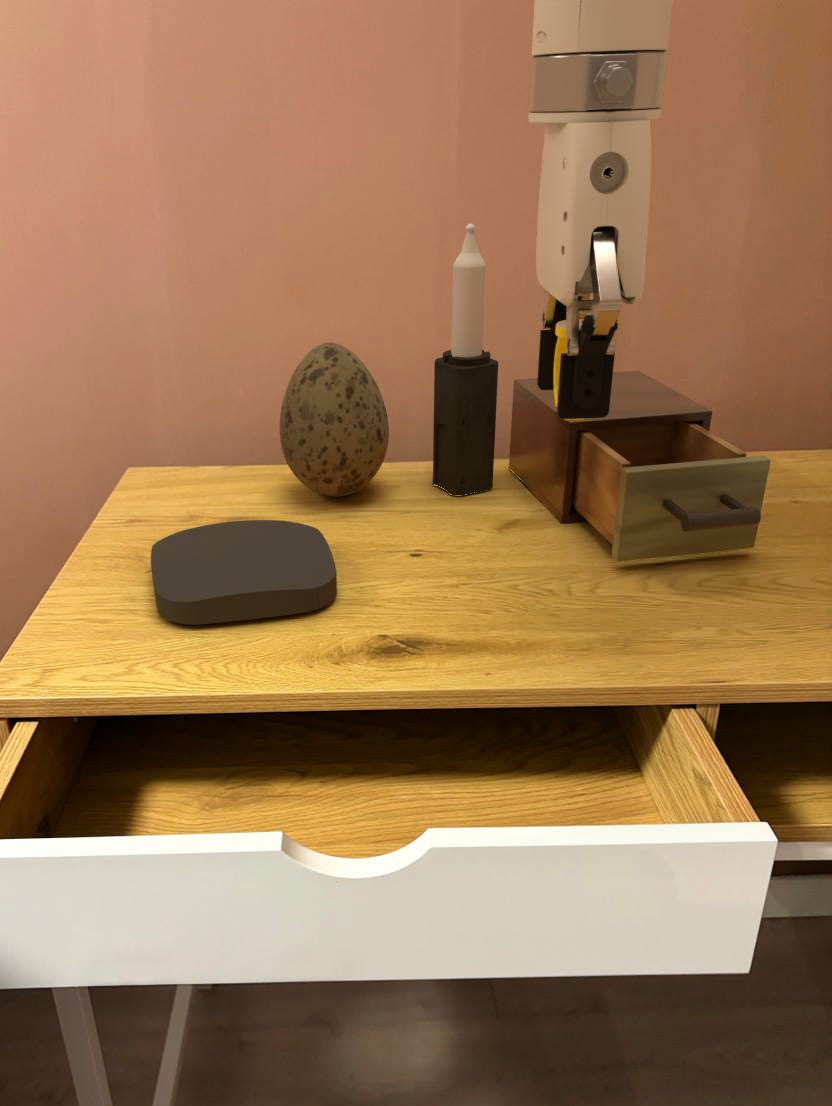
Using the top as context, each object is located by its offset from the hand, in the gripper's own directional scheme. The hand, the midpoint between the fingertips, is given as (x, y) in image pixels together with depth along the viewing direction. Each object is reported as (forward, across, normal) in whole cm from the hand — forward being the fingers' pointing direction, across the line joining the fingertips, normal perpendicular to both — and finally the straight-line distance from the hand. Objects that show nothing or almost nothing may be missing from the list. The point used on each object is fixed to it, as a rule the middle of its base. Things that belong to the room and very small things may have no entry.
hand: (571, 399), depth 65 cm
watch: (+1, 0, 0) cm, 1 cm away
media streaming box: (+17, +9, +24) cm, 31 cm away
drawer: (+17, +15, -12) cm, 26 cm away
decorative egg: (+17, +30, +16) cm, 38 cm away
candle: (+18, +31, +3) cm, 36 cm away
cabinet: (+17, +29, -10) cm, 35 cm away
